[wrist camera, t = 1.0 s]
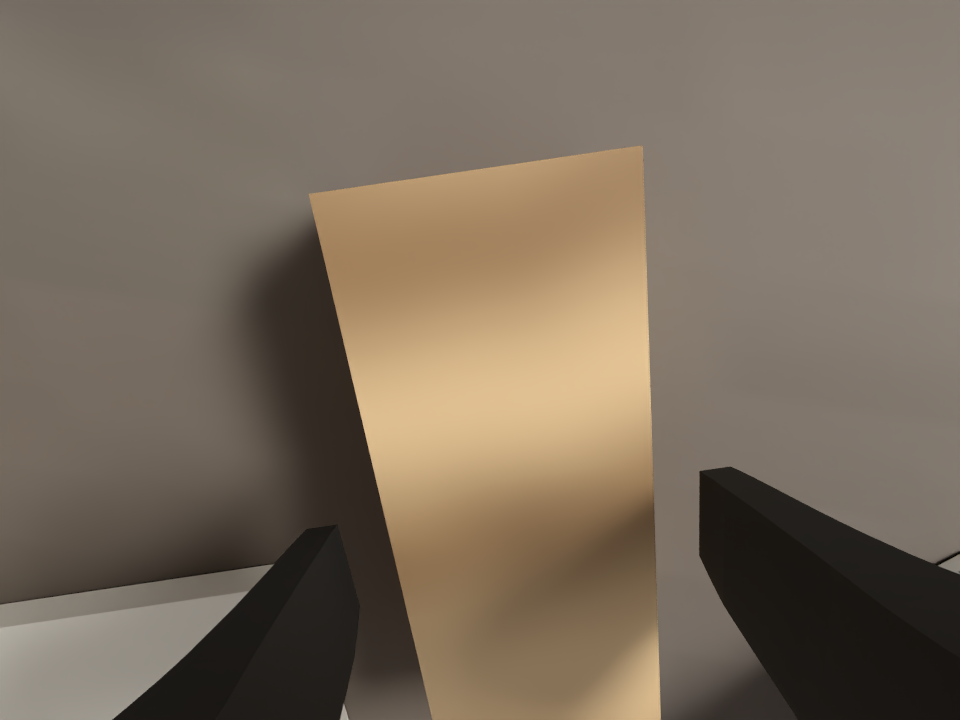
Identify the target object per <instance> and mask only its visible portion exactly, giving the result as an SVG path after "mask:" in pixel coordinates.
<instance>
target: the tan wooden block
mask: <svg viewBox="0 0 960 720" xmlns="http://www.w3.org/2000/svg"><path fill="white" fill-rule="evenodd" d="M309 197H310V201H311V206H312V210H313V214H314V218H315V223H316V227H317V231H318V235H319V240H320V244H321V248H322V252H323V257H324V261H325V265H326V269H327V274H328V278H329V282H330V286H331V291H332V295H333V299H334V303H335V308H336V312H337V316H338V320H339V325H340V329H341V333H342V337H343V342H344V346H345V350H346V354H347V359H348V363H349V367H350V371H351V376H352V380H353V384H354V388H355V393H356V397H357V401H358V405H359V410H360V414H361V418H362V422H363V427H364V431H365V435H366V439H367V444H368V448H369V452H370V456H371V461H372V465H373V469H374V473H375V478H376V482H377V486H378V490H379V495H380V499H381V503H382V507H383V512H384V516H385V520H386V524H387V529H388V533H389V537H390V541H391V546H392V550H393V554H394V558H395V563H396V567H397V571H398V575H399V580H400V584H401V588H402V592H403V597H404V601H405V605H406V609H407V614H408V618H409V622H410V626H411V631H412V635H413V639H414V643H415V648H416V652H417V656H418V660H419V665H420V669H421V673H422V677H423V682H424V686H425V690H426V694H427V699H428V703H429V707H430V711H431V716H432V720H661V711H660V679H659V648H658V616H657V584H656V553H655V521H654V490H653V458H652V426H651V395H650V363H649V332H648V300H647V268H646V237H645V205H644V174H643V145H642V146H635V147H628V148H621V149H614V150H607V151H601V152H594V153H587V154H580V155H573V156H566V157H559V158H553V159H546V160H539V161H532V162H525V163H518V164H512V165H505V166H498V167H491V168H484V169H477V170H470V171H464V172H457V173H450V174H443V175H436V176H429V177H423V178H416V179H409V180H402V181H395V182H388V183H381V184H375V185H368V186H361V187H354V188H347V189H340V190H334V191H327V192H320V193H313V194H309Z"/></svg>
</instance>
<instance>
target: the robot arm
mask: <svg viewBox="0 0 960 720" xmlns="http://www.w3.org/2000/svg"><path fill="white" fill-rule="evenodd" d="M699 556H700V558H701V560H702V562H703V564H704V566H705V569H706V571H707V573H708V575H709V577H710V579H711V581H712V583H713V585H714V587H715V589H716V591H717V593H718V595H719V597H720V599H721V601H722V603H723V605H724V606H725V608H726V609H727V611H728V613H729V614H730V616H731V617H732V619H733V620H734V622H735V624H736V625H737V627H738V628H739V630H740V631H741V633H742V634H743V636H744V638H745V639H746V641H747V642H748V644H749V645H750V647H751V648H752V650H753V651H754V653H755V654H756V656H757V657H758V659H759V661H760V662H761V664H762V665H763V667H764V668H765V670H766V671H767V673H768V674H769V676H770V677H771V679H772V680H773V682H774V683H775V685H776V687H777V688H778V690H779V691H780V693H781V694H782V696H783V697H784V699H785V700H786V702H787V703H788V705H789V706H790V708H791V709H792V711H793V712H794V714H795V716H796V717H797V719H798V720H960V574H958V573H955V572H952V571H950V570H947V569H945V568H942V567H940V566H937V565H935V564H932V563H930V562H927V561H925V560H923V559H920V558H918V557H915V556H913V555H911V554H908V553H906V552H904V551H902V550H899V549H897V548H895V547H893V546H891V545H888V544H886V543H884V542H882V541H880V540H877V539H875V538H873V537H871V536H868V535H866V534H864V533H862V532H860V531H858V530H856V529H854V528H852V527H850V526H847V525H845V524H843V523H841V522H839V521H837V520H835V519H833V518H831V517H829V516H827V515H825V514H823V513H821V512H819V511H817V510H815V509H813V508H811V507H809V506H808V505H806V504H804V503H802V502H800V501H798V500H796V499H794V498H792V497H790V496H788V495H786V494H784V493H782V492H781V491H779V490H777V489H775V488H773V487H771V486H769V485H767V484H765V483H763V482H761V481H759V480H757V479H755V478H753V477H751V476H749V475H747V474H745V473H743V472H741V471H739V470H737V469H735V468H732V467H725V468H718V469H711V470H704V471H700V515H699ZM359 608H360V605H359V602H358V598H357V594H356V591H355V587H354V584H353V580H352V576H351V573H350V569H349V566H348V562H347V558H346V555H345V551H344V548H343V544H342V540H341V537H340V533H339V529H338V526H337V525H333V526H326V527H319V528H312V529H307V530H306V531H305V532H304V533H303V534H302V535H301V536H300V537H299V538H298V539H297V540H296V541H295V542H294V543H293V544H292V545H291V546H290V547H289V548H288V549H287V551H286V552H285V553H284V554H283V555H282V556H281V557H280V558H279V559H278V560H277V562H276V563H275V564H274V565H273V566H272V567H271V568H270V569H269V570H268V571H267V573H266V574H265V575H264V576H263V577H262V578H261V579H260V580H259V581H258V582H257V583H256V584H255V586H254V587H253V588H252V589H251V590H250V591H249V592H248V593H247V594H246V595H245V596H244V597H243V598H242V599H241V601H240V602H239V603H238V604H237V605H236V606H235V607H234V608H233V609H232V610H231V611H230V612H229V613H228V614H227V615H226V616H225V617H224V618H223V619H222V620H221V621H220V622H219V623H218V624H217V625H216V626H215V627H214V628H213V629H212V630H211V631H210V632H209V633H208V634H207V635H206V636H205V637H204V638H203V639H202V640H201V641H200V642H199V643H198V644H197V645H196V646H195V647H194V648H193V649H192V650H191V651H190V652H189V653H188V654H187V655H186V656H184V657H183V658H182V659H181V660H180V661H179V662H178V663H177V664H176V665H175V666H174V667H173V668H172V669H170V670H169V671H168V672H167V673H166V674H165V675H164V676H163V677H162V678H160V679H159V680H158V681H157V682H156V683H155V684H154V685H152V686H151V687H150V688H149V689H148V690H147V691H145V692H144V693H143V694H142V695H141V696H140V697H138V698H137V699H136V700H135V701H134V702H133V703H132V704H130V705H129V706H128V707H127V708H126V709H124V710H123V711H122V712H121V713H120V714H118V715H117V716H116V717H115V718H114V719H112V720H340V718H341V713H342V709H343V705H344V700H345V696H346V692H347V687H348V683H349V679H350V674H351V670H352V665H353V660H354V654H355V646H356V637H357V628H358V618H359Z"/></svg>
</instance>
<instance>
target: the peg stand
mask: <svg viewBox="0 0 960 720" xmlns="http://www.w3.org/2000/svg"><path fill="white" fill-rule="evenodd" d="M273 565H274V564H272V565H265V566H258V567H251V568H245V569H238V570H231V571H224V572H218V573H211V574H204V575H197V576H191V577H184V578H177V579H170V580H164V581H157V582H150V583H143V584H136V585H130V586H123V587H116V588H109V589H103V590H96V591H89V592H82V593H76V594H69V595H62V596H55V597H49V598H42V599H35V600H28V601H22V602H15V603H8V604H1V605H0V720H112V719H114V718H115V717H116V716H117V715H118V714H120V713H121V712H122V711H123V710H124V709H126V708H127V707H128V706H129V705H130V704H132V703H133V702H134V701H135V700H136V699H137V698H138V697H140V696H141V695H142V694H143V693H144V692H145V691H147V690H148V689H149V688H150V687H151V686H152V685H154V684H155V683H156V682H157V681H158V680H159V679H160V678H162V677H163V676H164V675H165V674H166V673H167V672H168V671H169V670H170V669H172V668H173V667H174V666H175V665H176V664H177V663H178V662H179V661H180V660H181V659H182V658H183V657H184V656H186V655H187V654H188V653H189V652H190V651H191V650H192V649H193V648H194V647H195V646H196V645H197V644H198V643H199V642H200V641H201V640H202V639H203V638H204V637H205V636H206V635H207V634H208V633H209V632H210V631H211V630H212V629H213V628H214V627H215V626H216V625H217V624H218V623H219V622H220V621H221V620H222V619H223V618H224V617H225V616H226V615H227V614H228V613H229V612H230V611H231V610H232V609H233V608H234V607H235V606H236V605H237V604H238V603H239V602H240V601H241V599H242V598H243V597H244V596H245V595H246V594H247V593H248V592H249V591H250V590H251V589H252V588H253V587H254V586H255V584H256V583H257V582H258V581H259V580H260V579H261V578H262V577H263V576H264V575H265V574H266V573H267V571H268V570H269V569H270V568H271V567H272V566H273ZM340 720H349V719H348V715H347V712H346V709H345V706H344V705H343V709H342V713H341V718H340Z"/></svg>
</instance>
